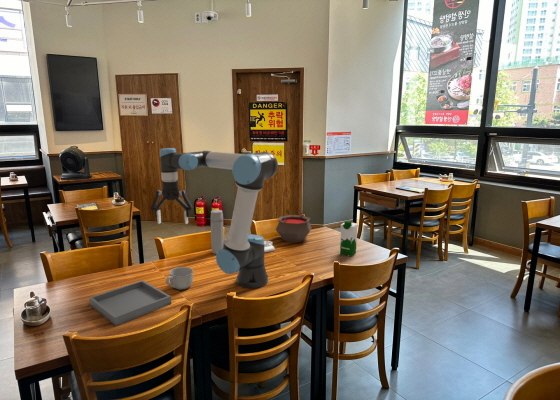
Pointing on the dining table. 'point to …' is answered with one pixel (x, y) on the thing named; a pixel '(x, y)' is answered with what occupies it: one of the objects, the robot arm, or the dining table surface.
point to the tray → (129, 302)
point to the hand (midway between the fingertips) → (173, 223)
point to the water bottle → (216, 230)
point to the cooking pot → (293, 227)
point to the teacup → (180, 278)
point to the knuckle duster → (268, 246)
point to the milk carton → (348, 238)
